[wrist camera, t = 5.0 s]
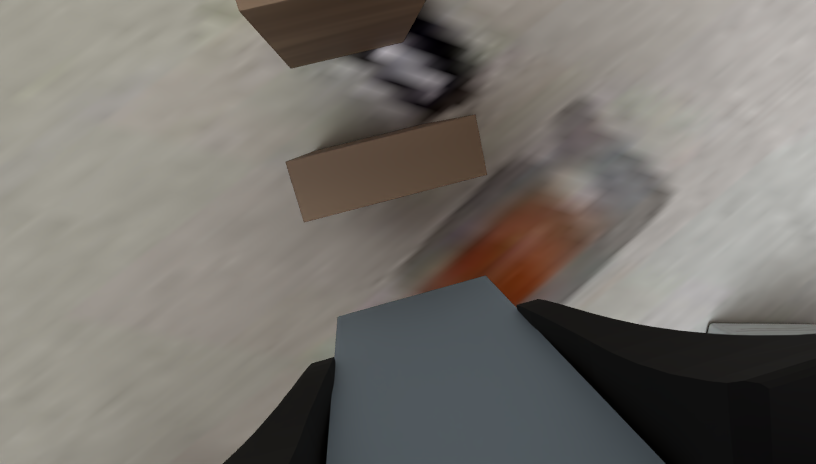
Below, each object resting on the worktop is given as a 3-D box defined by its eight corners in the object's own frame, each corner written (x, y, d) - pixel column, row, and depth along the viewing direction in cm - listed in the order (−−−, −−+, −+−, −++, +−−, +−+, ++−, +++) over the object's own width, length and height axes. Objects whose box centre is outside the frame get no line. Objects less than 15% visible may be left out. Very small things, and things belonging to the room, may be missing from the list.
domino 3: (494, 318, 15) (698, 581, 6) (350, 360, 14) (350, 699, 6) (485, 275, 14) (689, 488, 6) (337, 316, 14) (314, 610, 5)
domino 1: (402, 42, 19) (445, -36, 11) (290, 68, 19) (238, 10, 10) (394, 3, 19) (430, -111, 10) (279, 29, 19) (215, -66, 10)
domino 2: (429, 158, 20) (487, 174, 12) (324, 185, 20) (304, 222, 11) (421, 124, 20) (475, 114, 11) (314, 151, 20) (285, 161, 11)
